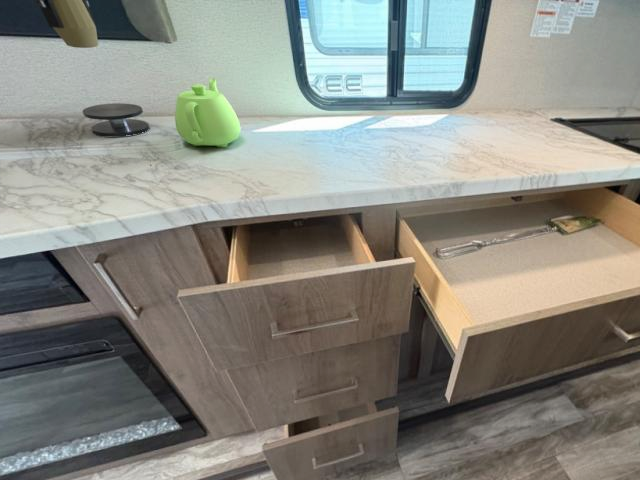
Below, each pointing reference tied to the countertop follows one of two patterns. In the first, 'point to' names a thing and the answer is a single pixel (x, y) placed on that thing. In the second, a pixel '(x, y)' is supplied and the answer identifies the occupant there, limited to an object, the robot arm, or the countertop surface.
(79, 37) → the squeeze bottle
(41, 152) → the countertop surface
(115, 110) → the stand
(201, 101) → the teapot
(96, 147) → the countertop surface
